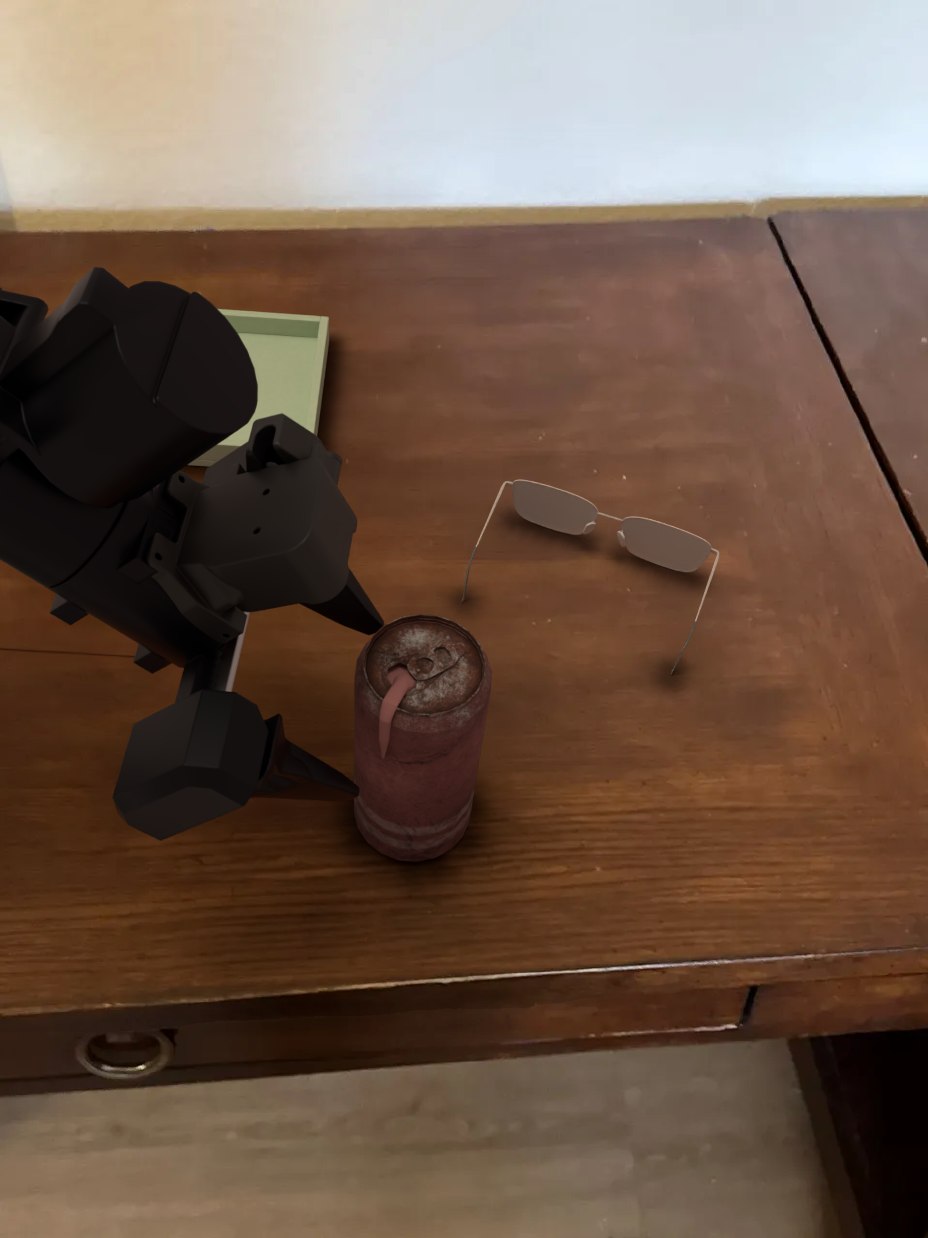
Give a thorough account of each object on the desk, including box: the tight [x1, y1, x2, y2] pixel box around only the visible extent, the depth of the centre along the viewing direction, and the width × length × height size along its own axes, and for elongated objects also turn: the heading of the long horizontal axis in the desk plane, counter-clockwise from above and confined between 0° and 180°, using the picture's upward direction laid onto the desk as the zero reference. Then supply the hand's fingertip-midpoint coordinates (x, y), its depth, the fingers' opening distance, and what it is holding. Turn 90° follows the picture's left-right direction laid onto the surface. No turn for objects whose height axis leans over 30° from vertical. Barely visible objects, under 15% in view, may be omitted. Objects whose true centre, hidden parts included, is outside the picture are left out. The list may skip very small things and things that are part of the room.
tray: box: [187, 308, 330, 468], centre depth 81 cm, size 13×13×2 cm
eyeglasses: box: [461, 479, 720, 675], centre depth 73 cm, size 14×8×4 cm, turn 69°
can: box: [353, 613, 493, 863], centre depth 59 cm, size 6×6×14 cm
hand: (365, 708), depth 56 cm, fingers open, 9 cm apart
